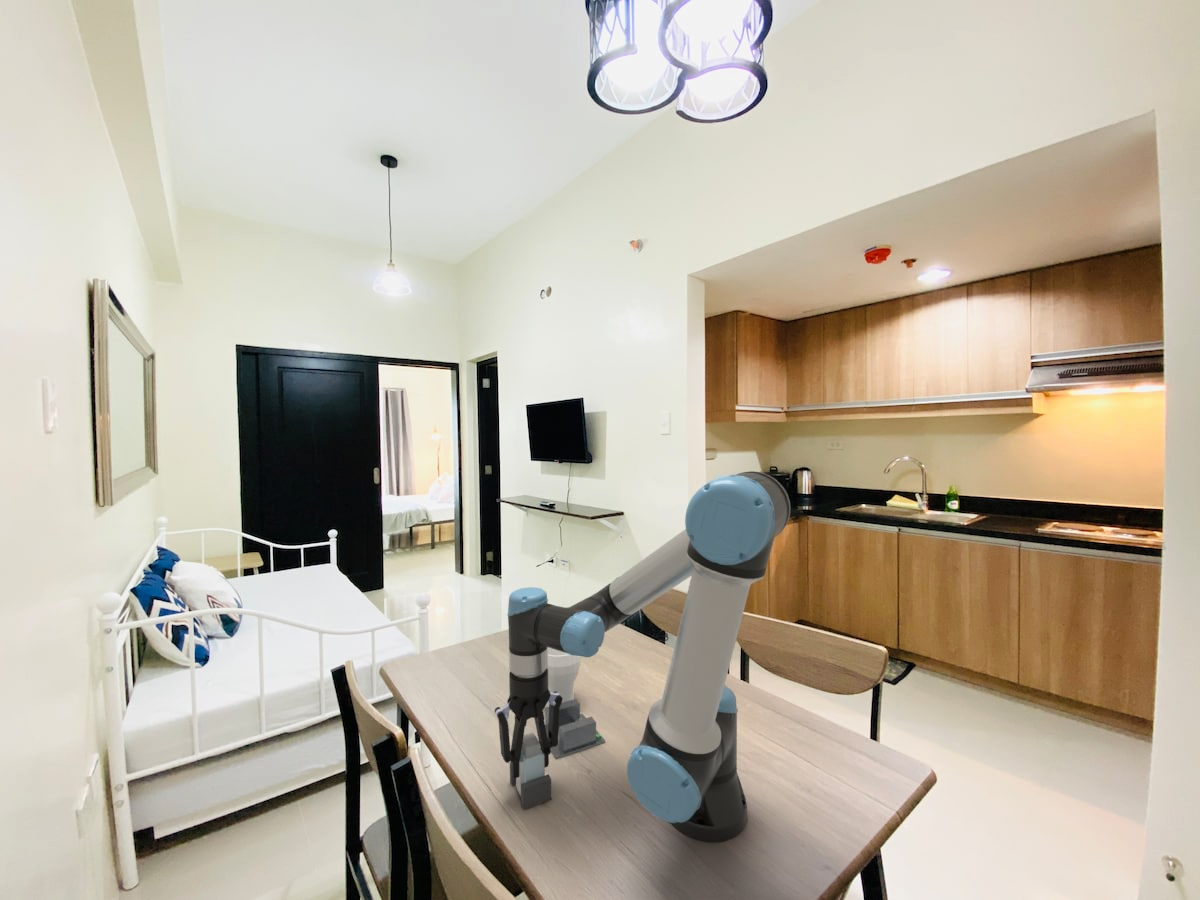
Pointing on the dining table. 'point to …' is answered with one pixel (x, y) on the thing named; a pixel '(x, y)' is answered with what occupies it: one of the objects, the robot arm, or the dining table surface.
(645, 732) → the robot arm
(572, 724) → the port
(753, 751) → the dining table surface
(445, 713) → the dining table surface
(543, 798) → the pair of dark bars
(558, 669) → the cup
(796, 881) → the dining table surface
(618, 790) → the dining table surface
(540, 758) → the plug
